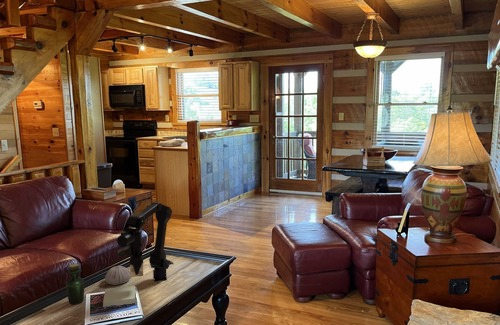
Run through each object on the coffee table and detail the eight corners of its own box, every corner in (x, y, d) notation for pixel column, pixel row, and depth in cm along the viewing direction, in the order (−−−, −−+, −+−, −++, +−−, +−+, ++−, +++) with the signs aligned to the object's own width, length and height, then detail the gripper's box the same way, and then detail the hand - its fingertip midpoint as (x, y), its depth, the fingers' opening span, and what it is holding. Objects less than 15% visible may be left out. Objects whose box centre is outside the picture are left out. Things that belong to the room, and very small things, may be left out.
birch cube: (142, 271, 195) (142, 259, 195) (143, 275, 190) (142, 263, 189) (130, 272, 194) (130, 261, 193) (130, 277, 188) (130, 265, 187)
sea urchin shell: (136, 280, 210) (135, 266, 209) (113, 289, 199) (112, 273, 199) (122, 274, 218) (121, 260, 217) (99, 282, 208) (99, 267, 207)
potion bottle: (70, 297, 190) (68, 262, 187) (88, 297, 190) (86, 261, 188) (64, 305, 181) (61, 268, 179) (82, 305, 182) (80, 268, 180)
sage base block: (135, 291, 196) (135, 285, 196) (135, 304, 183) (134, 298, 182) (105, 295, 192) (105, 289, 192) (103, 308, 179) (103, 302, 178)
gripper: (118, 237, 196) (119, 267, 198) (117, 248, 179) (118, 281, 180) (141, 235, 200) (142, 265, 201) (142, 246, 182) (143, 278, 183)
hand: (136, 272), depth 191 cm, fingers closed on birch cube, 6 cm apart
